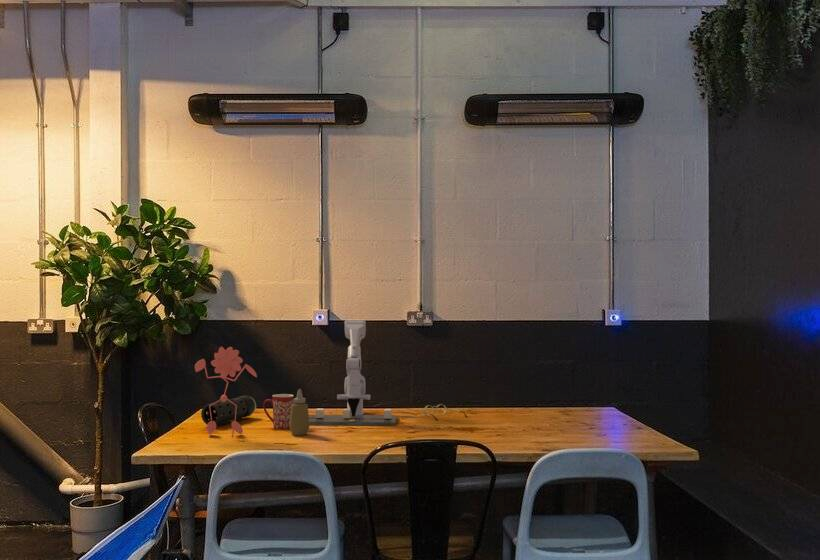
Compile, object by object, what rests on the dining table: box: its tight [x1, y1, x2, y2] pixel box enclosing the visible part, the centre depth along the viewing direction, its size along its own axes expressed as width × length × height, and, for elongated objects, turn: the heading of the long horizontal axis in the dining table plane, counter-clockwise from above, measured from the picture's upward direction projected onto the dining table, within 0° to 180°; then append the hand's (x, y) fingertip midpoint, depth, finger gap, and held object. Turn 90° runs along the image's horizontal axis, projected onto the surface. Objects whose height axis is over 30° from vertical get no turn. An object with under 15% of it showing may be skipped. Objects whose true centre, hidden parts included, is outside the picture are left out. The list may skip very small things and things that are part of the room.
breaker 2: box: [383, 408, 393, 419], centre depth 309 cm, size 4×3×4 cm
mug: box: [262, 393, 294, 430], centre depth 296 cm, size 13×9×14 cm
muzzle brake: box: [200, 395, 257, 427], centre depth 308 cm, size 10×28×10 cm, turn 158°
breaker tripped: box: [342, 408, 351, 418], centre depth 310 cm, size 4×3×4 cm
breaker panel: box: [309, 414, 398, 427], centre depth 310 cm, size 18×41×2 cm, turn 87°
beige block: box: [315, 407, 325, 418], centre depth 310 cm, size 4×3×4 cm
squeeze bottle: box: [289, 388, 311, 437], centre depth 281 cm, size 8×8×18 cm
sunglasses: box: [421, 403, 468, 422], centre depth 323 cm, size 17×15×5 cm
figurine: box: [194, 346, 258, 438], centre depth 282 cm, size 15×26×35 cm, turn 85°
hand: (353, 415), depth 310 cm, fingers closed
